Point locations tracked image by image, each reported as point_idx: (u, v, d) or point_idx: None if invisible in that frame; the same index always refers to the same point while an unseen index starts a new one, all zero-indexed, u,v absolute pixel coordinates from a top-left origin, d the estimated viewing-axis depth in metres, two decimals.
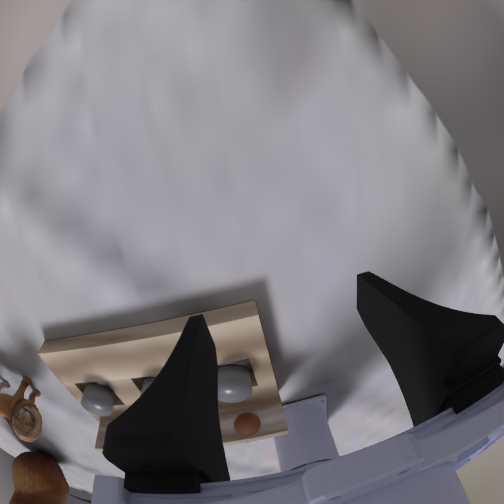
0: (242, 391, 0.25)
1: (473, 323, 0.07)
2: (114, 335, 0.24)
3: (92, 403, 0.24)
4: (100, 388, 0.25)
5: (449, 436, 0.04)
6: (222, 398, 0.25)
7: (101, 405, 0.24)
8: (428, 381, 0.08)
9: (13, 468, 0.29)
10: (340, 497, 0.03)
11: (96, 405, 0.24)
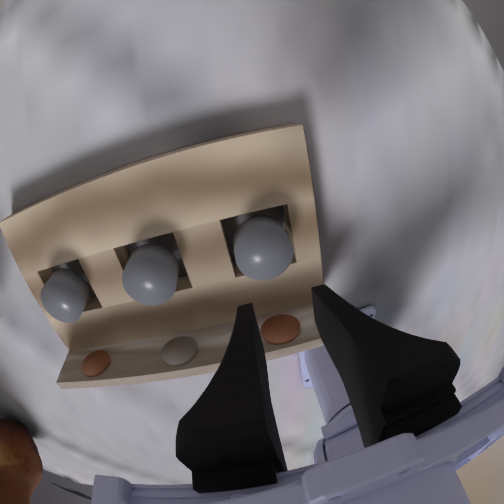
0: (279, 254, 0.18)
1: (418, 350, 0.07)
2: (100, 175, 0.17)
3: (55, 295, 0.17)
4: (70, 273, 0.19)
5: (449, 436, 0.04)
6: (248, 268, 0.18)
7: (67, 297, 0.18)
8: (369, 406, 0.08)
9: None
10: (340, 497, 0.03)
11: (60, 298, 0.18)
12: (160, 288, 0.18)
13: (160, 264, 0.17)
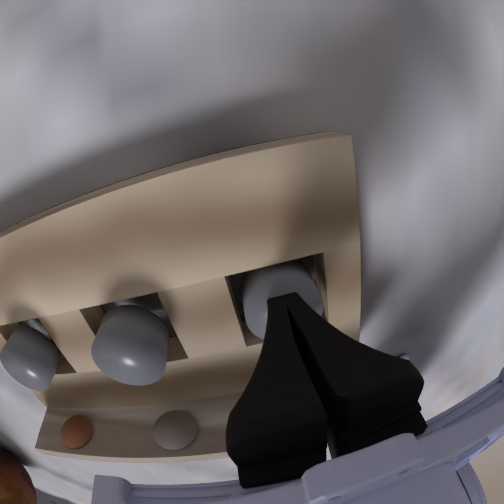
0: None
1: (376, 368, 0.07)
2: (54, 209, 0.11)
3: (16, 361, 0.11)
4: (32, 333, 0.13)
5: (449, 436, 0.04)
6: (262, 329, 0.13)
7: (30, 366, 0.12)
8: (330, 420, 0.08)
9: None
10: (340, 497, 0.03)
11: (23, 366, 0.12)
12: (144, 368, 0.12)
13: (141, 342, 0.11)
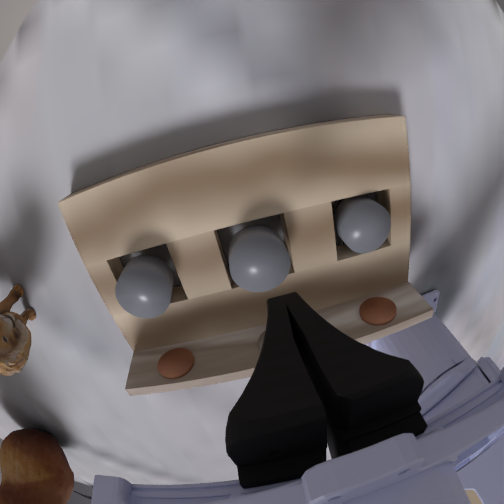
0: (379, 228, 0.18)
1: (376, 368, 0.07)
2: (201, 149, 0.17)
3: (137, 285, 0.17)
4: (154, 260, 0.18)
5: (449, 436, 0.04)
6: (353, 242, 0.19)
7: (154, 288, 0.17)
8: (330, 420, 0.08)
9: (1, 450, 0.22)
10: (340, 497, 0.03)
11: (143, 290, 0.17)
12: (272, 272, 0.18)
13: (277, 245, 0.17)
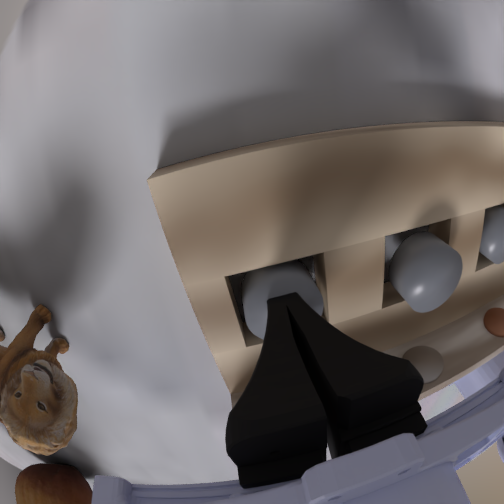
0: None
1: (376, 368, 0.07)
2: (376, 127, 0.11)
3: None
4: (297, 263, 0.14)
5: (449, 436, 0.04)
6: (494, 252, 0.14)
7: None
8: (330, 420, 0.08)
9: (17, 490, 0.17)
10: (340, 497, 0.03)
11: None
12: (444, 288, 0.12)
13: (457, 257, 0.12)
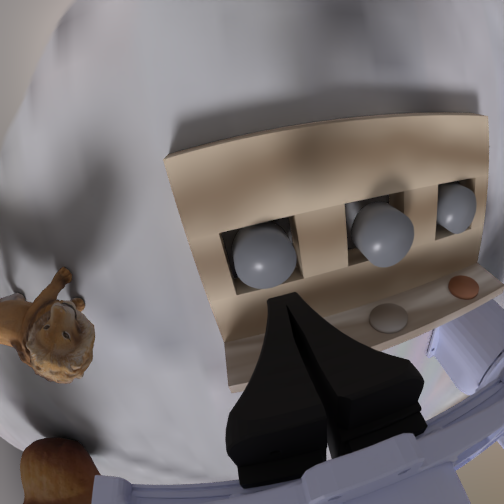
0: (469, 211, 0.17)
1: (376, 368, 0.07)
2: (335, 120, 0.15)
3: (263, 251, 0.17)
4: (275, 226, 0.18)
5: (449, 436, 0.04)
6: (451, 223, 0.18)
7: (281, 254, 0.17)
8: (330, 420, 0.08)
9: (22, 464, 0.21)
10: (340, 497, 0.03)
11: (269, 256, 0.17)
12: (398, 247, 0.17)
13: (408, 220, 0.16)
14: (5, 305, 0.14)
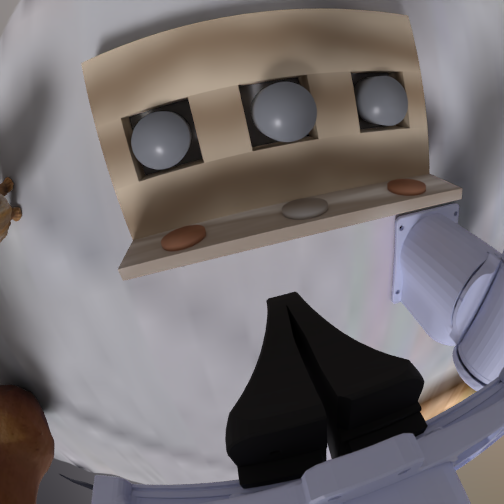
0: (397, 102, 0.16)
1: (376, 368, 0.07)
2: None
3: (156, 128, 0.16)
4: (175, 113, 0.17)
5: (449, 436, 0.04)
6: (374, 111, 0.17)
7: (173, 130, 0.16)
8: (330, 420, 0.08)
9: None
10: (340, 497, 0.03)
11: (162, 133, 0.16)
12: (299, 119, 0.16)
13: (304, 91, 0.15)
14: None
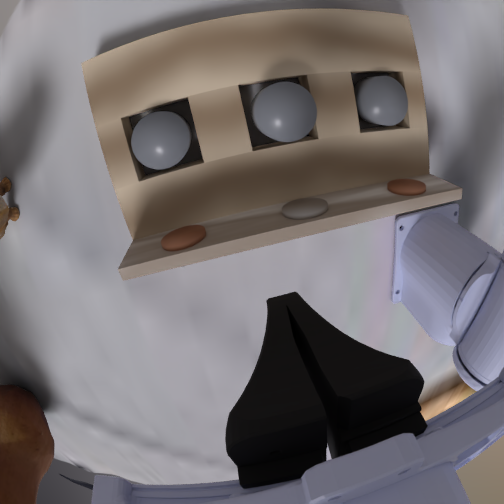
0: (397, 102, 0.16)
1: (376, 368, 0.07)
2: None
3: (156, 128, 0.16)
4: (175, 113, 0.17)
5: (449, 436, 0.04)
6: (374, 111, 0.17)
7: (173, 130, 0.16)
8: (330, 420, 0.08)
9: None
10: (340, 497, 0.03)
11: (162, 133, 0.16)
12: (299, 119, 0.16)
13: (304, 91, 0.15)
14: None
